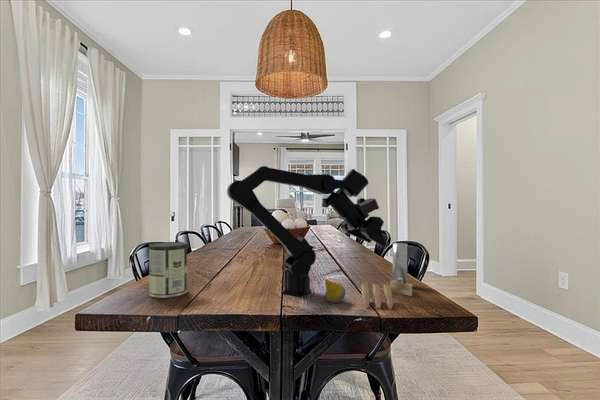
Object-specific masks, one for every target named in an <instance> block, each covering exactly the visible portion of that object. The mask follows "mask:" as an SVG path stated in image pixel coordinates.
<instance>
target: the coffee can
mask: <svg viewBox="0 0 600 400" xmlns="http://www.w3.org/2000/svg"><path fill="white" fill-rule="evenodd" d="M187 247H188V243H187V242H184V241H164V242H163V241H162V242H154V243H150V244H148V248H149V249H148V251H149V256H148V257H149V263H148V264H149V266H148V267H149V272H148V273H149V276H148V277H149V281H148V282H149V294H148V295H149V297H152V298H155V299H156V298H157V299H159V298H160V299H164V298H173V297H174V298H175V297H179V296H183V295H185V294H186V293H188V284H187V283H188V280H187V279H188V277H187V276H188V264H187V263H188V259H187V258H188V248H187Z"/></svg>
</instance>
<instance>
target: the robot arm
mask: <svg viewBox="0 0 600 400" xmlns="http://www.w3.org/2000/svg"><path fill="white" fill-rule="evenodd" d="M264 182H270V183H276V184H280V185H286V186H292V187H297V188H303V189H305V190H307V191H309V192H312V193H315V194H318V195H328V196H327V197H326V198H322V203H321V208H326V209H327V208H328V207H331V208H332V210H334V211H335V212H336V213H337V214H338V216H337V217H338V219H340V220H343V221H342V222H341V223H340V229H341V230H342V231H343V232H344V233H346V234H348V235H351V236H353V237H355V238H357V239H360V240H362V241H364V242H366V243H367V244H368V243H369V244H370V243H371V242H372V241H373V242H374V243H376V244H377V245H380V246H382V247H386V246H387V245H388V244H387V242H386V239H385V236H384V235H383V233H382V227H383V226H384V223H385V221H384V220H383V219H382V218H381V216H370V213H372V212H374V211H376V210H379V209H380V206H379V204H378V202H377V199H376V198H367V199H365V198H363V197H360V198H358V199H357V200H356V203H355V202H354V201H352V199H351V198H352V197H354V198H356V197H358V195H359V194H361V192H362V191H363V190H364V189H365V188H366V187H367V186H368V185H369V180H368V178H367V177H366V175H363V174H362V173H360V172H359V171H357V170H356V169H355V168H353V169H352V168H351V169H350V170H349V171H348V172H347V173H346V175H345V176H344V177H343V178H342V179H335V177H334V176H333V175H331V174H319V173H317V174H305V173H299V172H293V171H289V170H282V169H278V168H272V167H269V166H266V165H263V166H259V167H257V169H256V170H255V171H254V172H251V174H249V175H248V176H247V177H245V178H243V179H242V180H235V181H233V182H231V183H230V184H229V185H228V186H227V190H226V194H227V196H228V198H229V199H230V200H231V201H233V202H234V203H236V204H237V205H238V206H240V207H242V208H243V209H245V210H246V211H248V212H249V213H250V214H251V215H252V216H253V217H254V218H255V219H256V220H257V221H258V222H259V223H260V224H261V225H262V226H263V227H264V228H265V229H266V230H267V231H268V232H269V233H271V235H272V236H273V237H275V238H276V240H277V241H278V242H279V243H281V245H282V246H283V248H284V249H285V251H286V253H287V255H288V257H287V258H286V259H285V260H284V261H283V266H284V268H285V269H286V270H284V290H281V293H282V294H285V295H290V296H291V295H292V296H297V297H301V296H303V295H306V294H308V293H311V292H312V289H311V284H310V283H311V281H310V279H311V277H310V276H309V274H310V270H311V267H312V266H313V265H314V264H315V262H316V259H317V257H316V255H317V254H316V251H315V250H314V249H315V247H314V246H312V244H310V243H309V242H308V241H307V239H306V238H305V237H302V236H299V235H298V236H297V237H295V236H294V235H293V234H292V233H291V232H290V231H289V230H288V229H287V228H286V227H285V226H284V225H283V224H282V223H281V222H280V221H279V220H277V218H276V217H275V216H274V215H273V214H272V213H271V211H269V210H268V209H267V208H266V207H265V206H264V205H263V204H262V203H261V202H260V200H259V198H258V197H257V195H256V194H255V192H254V190H255V189H256V188H258V187H259V186H260V185H262V184H263V183H264ZM335 190H336V191H335Z"/></svg>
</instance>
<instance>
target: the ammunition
mask: <svg viewBox="0 0 600 400" xmlns="http://www.w3.org/2000/svg"><path fill="white" fill-rule="evenodd" d="M369 292H370V288H369V285H368V283H362V284H361V298H362V302H363V307H364V308H365V309H369V307H370V303H371V302H370V293H369ZM392 296H393V295H392V292H391V287H390V284H383V299H384V301H385V304H386V305H387V307H388V309H389V310H392V309H393V305H394V299H393V298H392ZM372 298H373V302H374V303H375V307H376V309H381V307H382V298H381V286H380V285H379V284H377V283H373V284H372Z"/></svg>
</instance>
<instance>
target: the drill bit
mask: <svg viewBox="0 0 600 400" xmlns="http://www.w3.org/2000/svg"><path fill="white" fill-rule="evenodd" d="M324 282H325V289H326V290H325V296H324V297H325V298H326V300H327V301H328V302H329V303H331V304H338V303H340V302H343V300H344V298H345V296H346V288H345V287H344V286H343V285H342V284H341V283H336V282H333V281H331V280H329V279H327V278H326V279H325V280H324Z"/></svg>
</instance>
